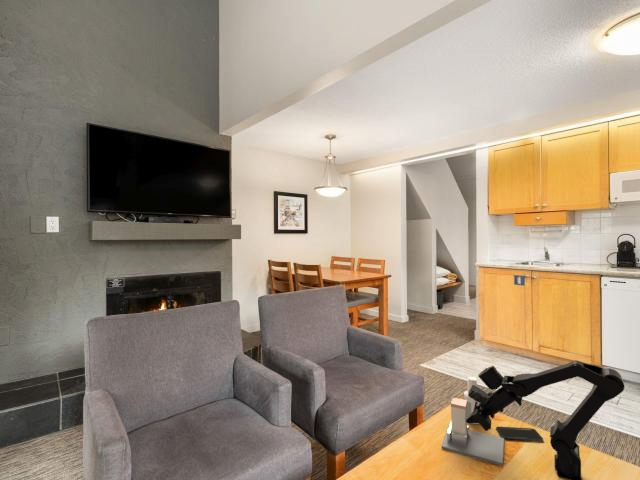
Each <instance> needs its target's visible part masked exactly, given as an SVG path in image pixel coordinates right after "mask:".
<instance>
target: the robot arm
mask: <svg viewBox="0 0 640 480" xmlns="http://www.w3.org/2000/svg"><path fill="white" fill-rule="evenodd" d="M477 378H479V380H481V381H482V383H483V384H485V386H486V387H487V388H488V389H489V390H491V391H489V392H486V391H485V390H483V389H482V388H480V387H479V386H478V385H477V386H475V385H472V387H471V389H470V390H469V393H468V396H469V397H470V398H472V399H474V400H475V401H477V402H479V403H477V402H475V406H474V411H473V412H472V413H471V414H470V416H469V417H468V418H467V420H466V422H467V424H471V423H479V424H478V425H479V426H481V427H482V428H483V430H484V431H485V432H488V431H489V430H491V429H492V419H494V418H495V416H496V414H498V413H499V412H500V413H503V412H504V409H505V408H507V407H509V406H510V405H511V404H513V403H514V402H516V403H517V405H518V406H521V407H522V404H523V401H522V400H523V398H526V397H528V396H530V395H532V394H534V393H535V392H537V391H538V390H540V389H541V388H543V387H546V386H550V385H553V384H557V383H560V382H564V381H568V380H571V379H574V378H579V379H583V380H585V381H587V382H588V383H590V384H592V388H591V390H590V391H589V392H588V394H587V395H586V396H585V398H584V399H583V400H582V401H581V402H580V403H579V404H578V406H577V407H576V408H575V410H574V411H573V412H572V413H571V414H570V416H569V417H568V418H567V420H565V421H563V422H561V421H560V420H559V419H557V420H556V422H555V424H554V425H553V426H550V433H549V437H550V441H549V443H550V446H551V448H552V449H553V450H554V451H555V452H556V453H555V454H554V465H553V466H554V470H555V472H556V476H558V478H562V479H565V480H583V479H582V460H581V456H580V453H581V452H580V446H579V444H578V443H577V438H578V435H579V433H580V432H581V431H582V430H583V429H584V428H585V427H586V425H587V424H588V423H589V422H590V421H591V419H592V418H593V417H595V414H596V413H598V411H599V410H600V409H601V408H602V406H604V404H605V403H606V402H608V401H611V400H612V399H615V398H616V397H617V396H619V395H620V394H622V393H623V392H624V390H625V383H624V381H623V378H622V375H621V373H620V372H618V371H617V370H616V369H614V368H608V367H604V368H603V367H601V366H599V365H595V364H591V363H590V364H589V363H585V362H582V361H580V360H571V361H570V362H568V363H565V364H561V365H558V366H555V367H552V368H549V369H546V370H544V371H539V372H536V373H535V372H534V373H522V374H521V373H520V374H515V375H502V374H501V373H500V371H498V370H497V367H495V366H494V365H491V366H489V367H486V368H484V369H483V370H482V371H481V372H480V373H479V374H478V375H477ZM492 391H494V392H492Z"/></svg>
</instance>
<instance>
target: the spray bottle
mask: <svg viewBox="0 0 640 480" xmlns="http://www.w3.org/2000/svg"><path fill="white" fill-rule="evenodd" d="M477 381H478V379H477V377H474V376H468V377H467V390H465V391H464V392H463V400H467V418H468V417H469V416H470V414H471V413H472V412H473V411H474V406H475V402H477V401H475V400H474V399H472V398H470V397H469V396H468V393H469V390H470V389H471V387H472V385H475V386H477V387H478V382H477ZM477 403H479V402H477ZM470 424H473V425H480V424H479V423H470Z"/></svg>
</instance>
